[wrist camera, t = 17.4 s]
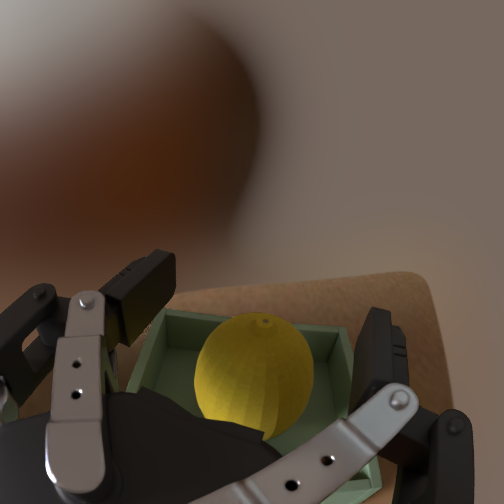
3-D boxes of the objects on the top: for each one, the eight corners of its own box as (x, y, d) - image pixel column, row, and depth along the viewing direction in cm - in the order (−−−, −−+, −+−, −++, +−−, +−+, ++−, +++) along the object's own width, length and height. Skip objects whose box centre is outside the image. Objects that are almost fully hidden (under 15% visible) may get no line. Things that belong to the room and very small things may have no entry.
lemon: (262, 481, 13) (297, 402, 9) (176, 427, 15) (162, 325, 11) (309, 410, 17) (351, 311, 13) (232, 371, 19) (243, 266, 15)
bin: (119, 489, 11) (99, 466, 10) (162, 345, 21) (158, 306, 19) (354, 507, 12) (383, 486, 10) (331, 362, 21) (346, 326, 20)
